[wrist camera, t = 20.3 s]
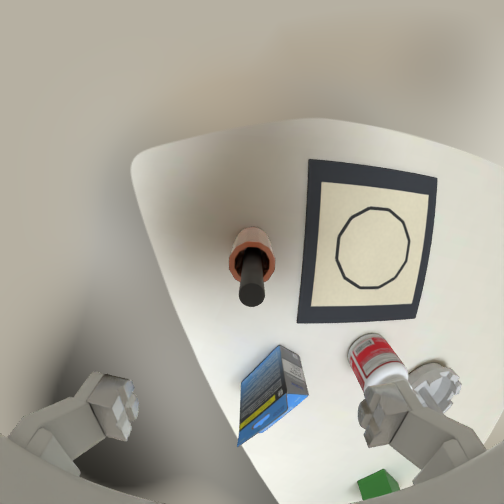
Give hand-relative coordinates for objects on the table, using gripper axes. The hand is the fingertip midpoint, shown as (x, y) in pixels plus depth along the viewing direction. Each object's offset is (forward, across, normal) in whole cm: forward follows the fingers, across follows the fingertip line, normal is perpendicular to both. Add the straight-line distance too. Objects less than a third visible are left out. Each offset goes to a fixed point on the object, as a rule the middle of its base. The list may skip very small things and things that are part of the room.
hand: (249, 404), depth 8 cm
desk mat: (+24, -15, 0) cm, 29 cm away
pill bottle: (+24, -17, +15) cm, 34 cm away
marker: (+24, 0, 0) cm, 24 cm away
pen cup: (+24, 0, 0) cm, 25 cm away
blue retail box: (+24, -3, +18) cm, 31 cm away
